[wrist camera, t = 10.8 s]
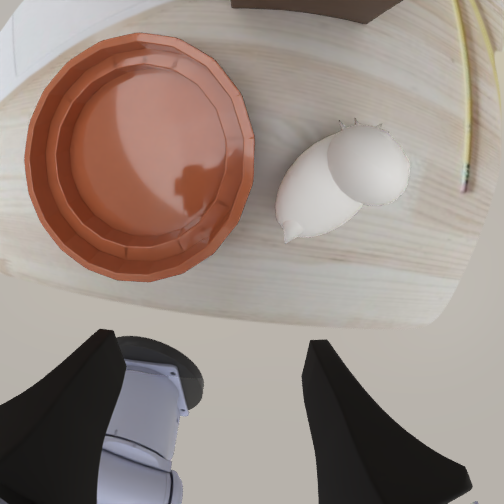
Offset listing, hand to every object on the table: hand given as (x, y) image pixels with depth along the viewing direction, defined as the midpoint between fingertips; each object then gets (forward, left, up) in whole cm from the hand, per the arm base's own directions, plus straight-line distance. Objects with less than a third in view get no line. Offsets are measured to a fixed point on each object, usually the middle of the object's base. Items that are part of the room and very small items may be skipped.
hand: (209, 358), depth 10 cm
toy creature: (+5, -6, -10) cm, 12 cm away
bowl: (+6, +5, -9) cm, 12 cm away
